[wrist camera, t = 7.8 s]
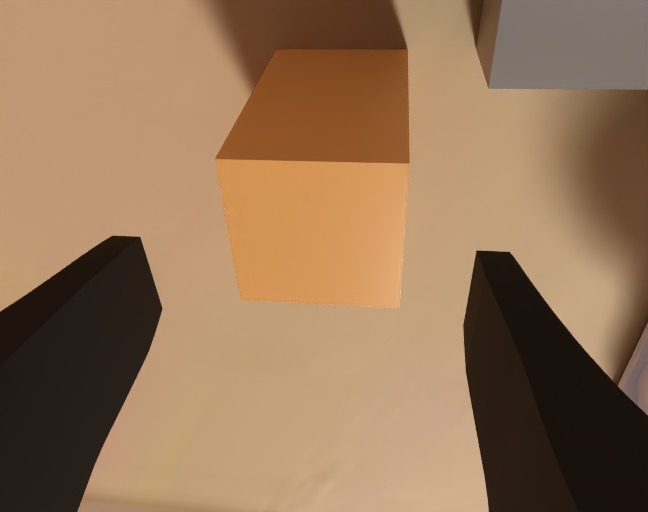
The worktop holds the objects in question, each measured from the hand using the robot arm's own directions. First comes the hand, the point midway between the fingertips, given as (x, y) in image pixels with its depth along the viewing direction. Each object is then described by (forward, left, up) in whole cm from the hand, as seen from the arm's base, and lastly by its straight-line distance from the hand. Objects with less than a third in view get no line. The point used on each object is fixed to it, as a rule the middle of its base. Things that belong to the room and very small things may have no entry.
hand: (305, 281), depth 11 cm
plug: (0, 0, -8) cm, 8 cm away
